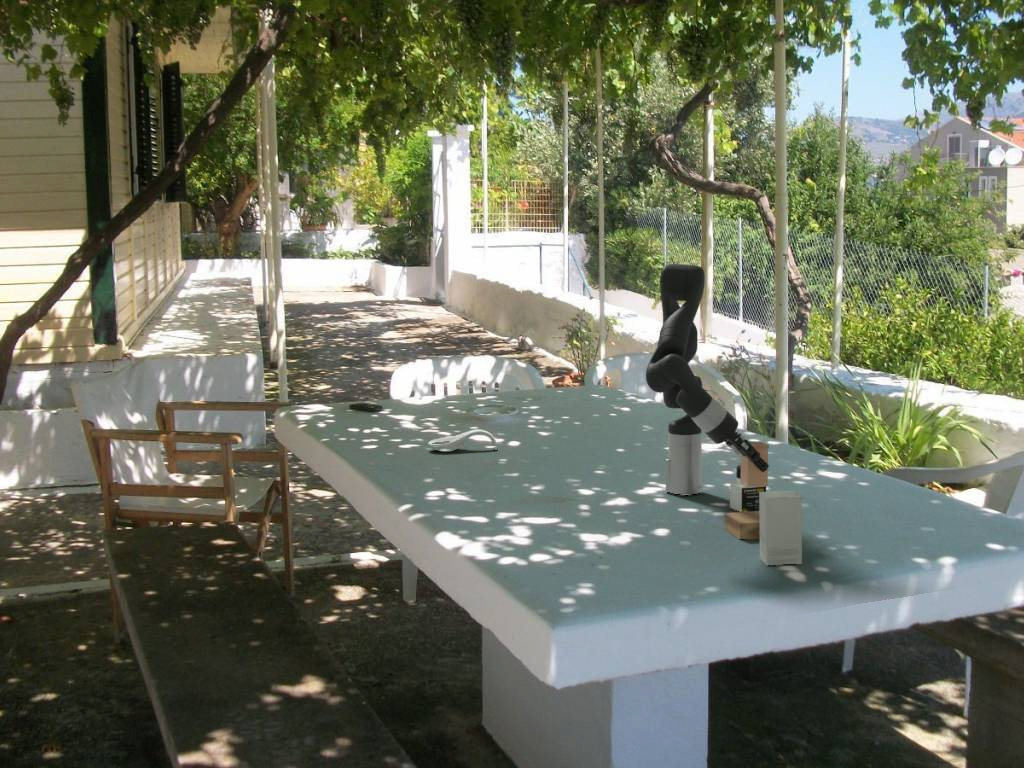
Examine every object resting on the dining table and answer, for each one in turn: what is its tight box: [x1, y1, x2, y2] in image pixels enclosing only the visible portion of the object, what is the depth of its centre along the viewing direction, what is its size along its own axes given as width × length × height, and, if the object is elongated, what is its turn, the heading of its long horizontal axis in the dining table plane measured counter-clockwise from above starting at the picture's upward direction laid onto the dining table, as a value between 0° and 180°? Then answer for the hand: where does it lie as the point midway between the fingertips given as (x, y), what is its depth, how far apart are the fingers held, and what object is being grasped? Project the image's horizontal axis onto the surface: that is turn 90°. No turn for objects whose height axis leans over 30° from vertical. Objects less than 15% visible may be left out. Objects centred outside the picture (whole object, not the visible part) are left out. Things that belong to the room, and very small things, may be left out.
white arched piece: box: [427, 428, 498, 447], centre depth 411 cm, size 24×12×7 cm, turn 94°
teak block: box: [724, 511, 760, 540], centre depth 290 cm, size 11×11×4 cm
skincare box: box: [759, 489, 803, 567], centre depth 263 cm, size 8×7×16 cm
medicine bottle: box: [729, 464, 767, 512], centre depth 314 cm, size 7×7×12 cm
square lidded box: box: [740, 440, 770, 487], centre depth 288 cm, size 5×5×10 cm
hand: (761, 466), depth 288 cm, fingers closed on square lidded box, 5 cm apart
